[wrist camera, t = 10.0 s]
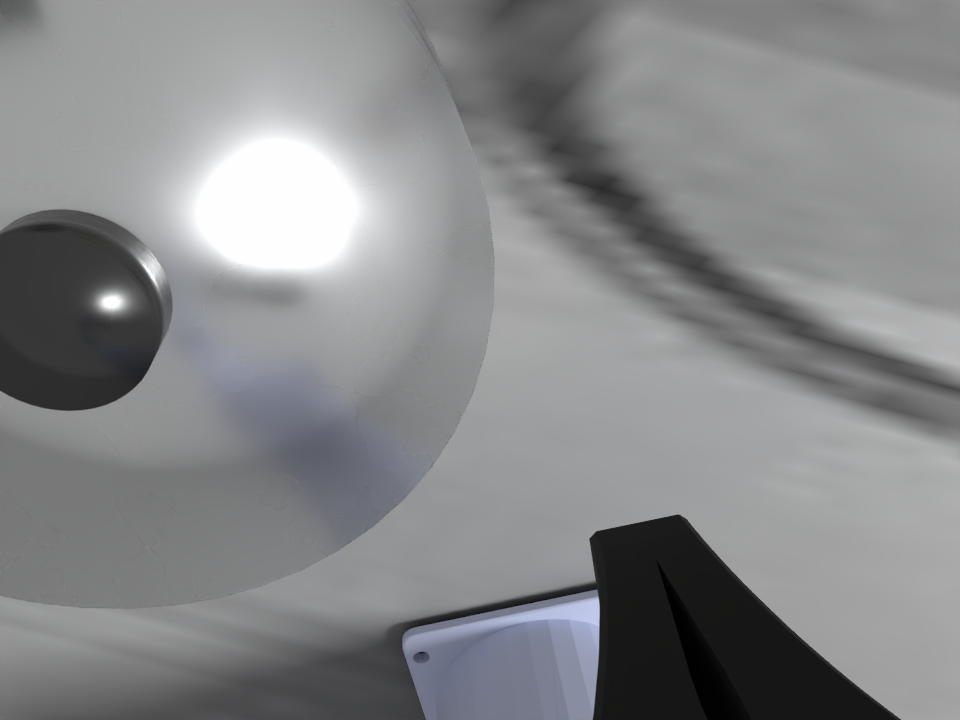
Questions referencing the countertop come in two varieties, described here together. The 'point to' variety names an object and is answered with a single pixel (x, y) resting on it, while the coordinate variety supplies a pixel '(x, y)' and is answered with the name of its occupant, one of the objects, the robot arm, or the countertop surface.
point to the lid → (223, 289)
